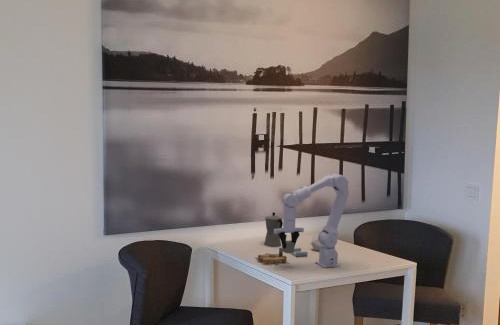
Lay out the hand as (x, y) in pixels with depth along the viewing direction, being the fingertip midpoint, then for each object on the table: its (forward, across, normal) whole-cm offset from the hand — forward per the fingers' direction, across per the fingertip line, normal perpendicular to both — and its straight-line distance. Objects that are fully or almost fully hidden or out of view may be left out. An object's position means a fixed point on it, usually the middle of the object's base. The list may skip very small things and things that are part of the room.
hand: (288, 247), depth 269 cm
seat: (+9, -14, -19) cm, 25 cm away
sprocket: (+9, +4, -11) cm, 14 cm away
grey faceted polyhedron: (+9, -29, -26) cm, 40 cm away
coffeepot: (+9, -9, -41) cm, 43 cm away
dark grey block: (+2, 0, 0) cm, 2 cm away
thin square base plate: (+9, +4, -11) cm, 14 cm away
